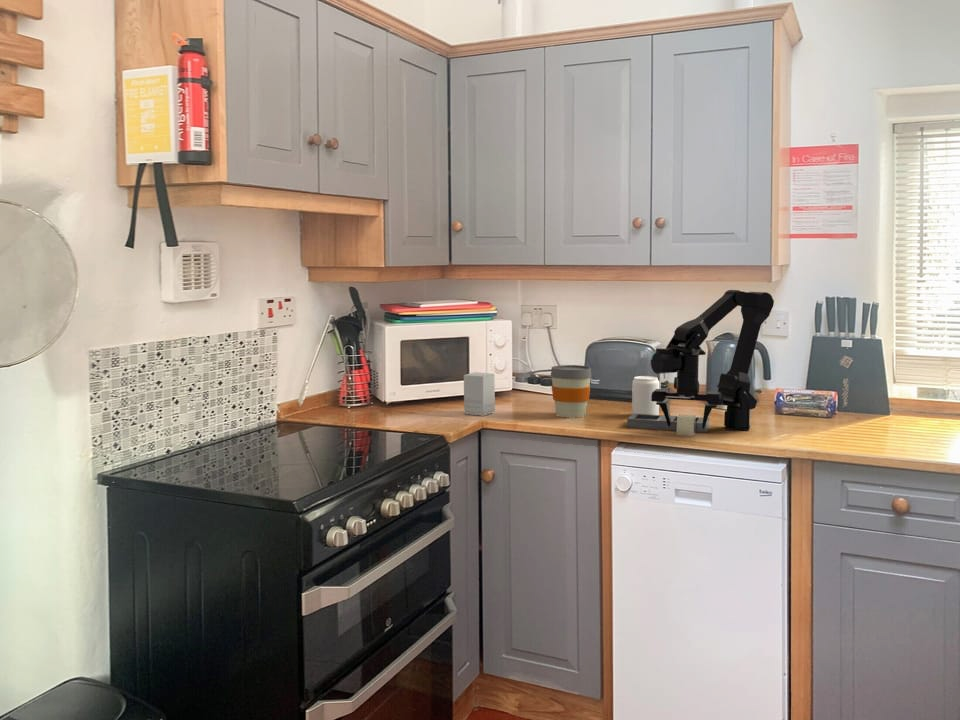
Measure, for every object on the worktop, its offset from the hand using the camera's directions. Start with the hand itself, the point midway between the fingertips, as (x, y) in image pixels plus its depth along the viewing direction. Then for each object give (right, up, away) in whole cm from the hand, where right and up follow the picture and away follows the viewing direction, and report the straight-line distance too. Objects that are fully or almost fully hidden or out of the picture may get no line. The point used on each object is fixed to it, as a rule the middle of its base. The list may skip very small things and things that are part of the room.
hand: (686, 427), depth 233 cm
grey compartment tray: (-3, -1, +10) cm, 10 cm away
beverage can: (-6, +1, +26) cm, 27 cm away
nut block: (0, -2, 0) cm, 2 cm away
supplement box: (-57, +2, +33) cm, 66 cm away
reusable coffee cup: (-29, +1, +28) cm, 41 cm away
